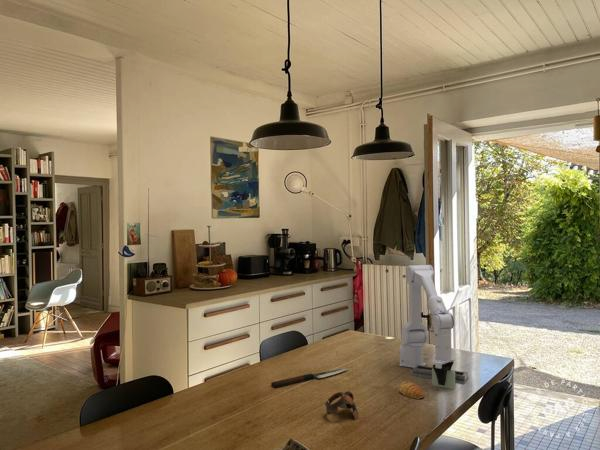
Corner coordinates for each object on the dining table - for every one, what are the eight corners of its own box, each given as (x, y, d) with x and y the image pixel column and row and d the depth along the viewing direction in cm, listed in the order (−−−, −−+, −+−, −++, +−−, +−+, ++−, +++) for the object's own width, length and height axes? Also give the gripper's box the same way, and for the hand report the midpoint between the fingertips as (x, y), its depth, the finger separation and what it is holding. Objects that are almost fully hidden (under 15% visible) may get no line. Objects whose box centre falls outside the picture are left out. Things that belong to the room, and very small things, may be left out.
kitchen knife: (277, 385, 168) (271, 381, 172) (278, 391, 168) (271, 387, 172) (352, 367, 187) (345, 364, 191) (352, 372, 187) (345, 369, 191)
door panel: (432, 385, 171) (431, 369, 171) (433, 383, 173) (433, 368, 173) (453, 389, 167) (453, 373, 167) (455, 387, 168) (455, 371, 168)
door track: (411, 375, 182) (411, 369, 182) (417, 369, 189) (417, 363, 189) (463, 384, 172) (463, 377, 172) (468, 378, 178) (468, 371, 178)
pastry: (429, 397, 159) (429, 387, 159) (414, 401, 156) (414, 390, 156) (411, 389, 168) (411, 379, 168) (396, 392, 164) (396, 382, 164)
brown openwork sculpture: (356, 425, 138) (342, 402, 138) (331, 433, 143) (317, 411, 143) (366, 402, 149) (353, 380, 149) (343, 409, 154) (330, 388, 153)
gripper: (449, 352, 161) (449, 390, 161) (458, 342, 174) (459, 378, 174) (429, 349, 165) (429, 387, 165) (440, 340, 177) (440, 375, 177)
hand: (443, 382), depth 170 cm, fingers open, 5 cm apart
